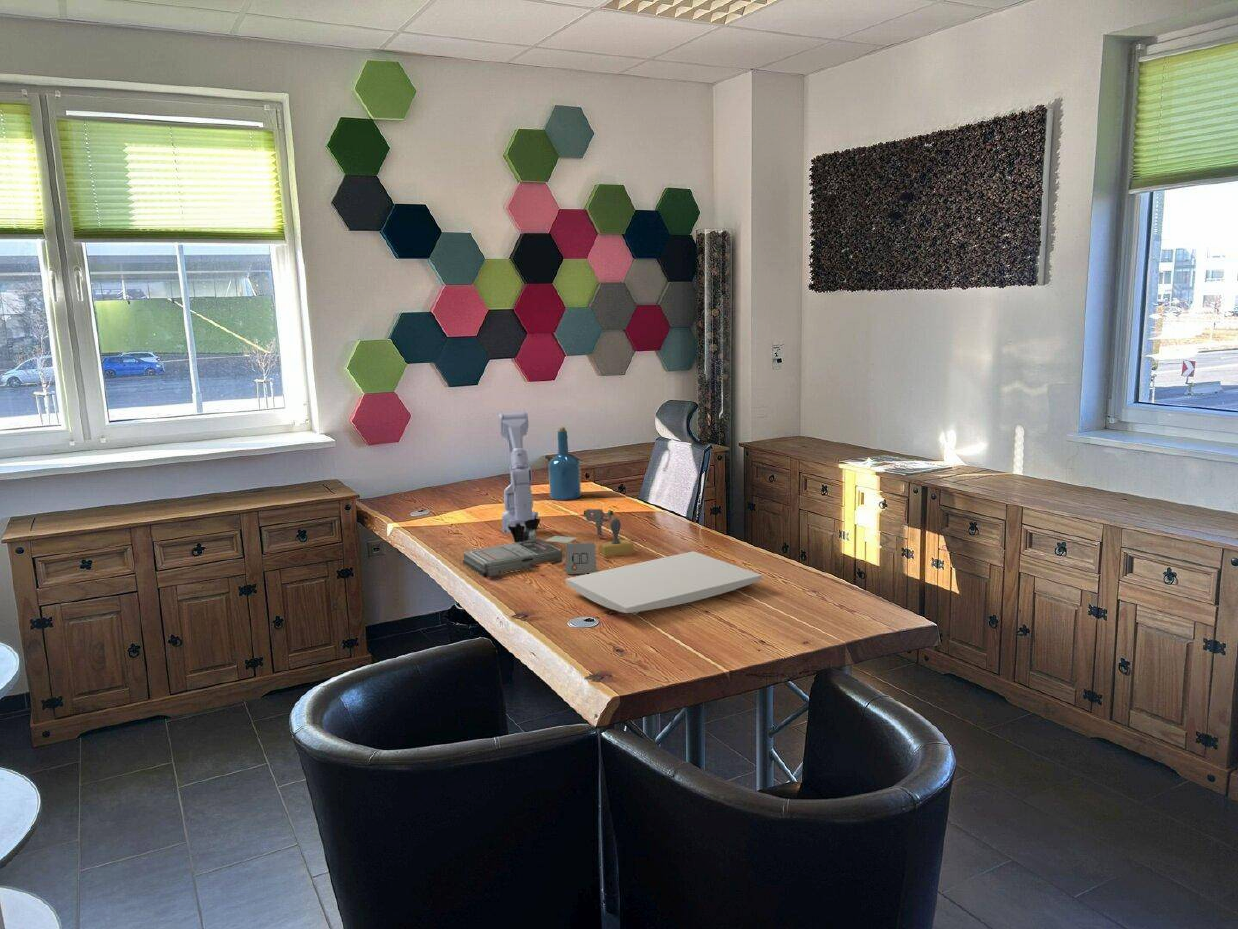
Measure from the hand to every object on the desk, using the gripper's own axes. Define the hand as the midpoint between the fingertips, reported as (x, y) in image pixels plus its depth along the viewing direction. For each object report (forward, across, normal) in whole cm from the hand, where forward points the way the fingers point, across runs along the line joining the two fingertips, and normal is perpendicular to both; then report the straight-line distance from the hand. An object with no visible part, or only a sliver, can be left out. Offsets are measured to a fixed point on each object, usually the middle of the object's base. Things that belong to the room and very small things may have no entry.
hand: (525, 542), depth 312 cm
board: (+3, -26, -63) cm, 68 cm away
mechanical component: (+2, +21, -17) cm, 27 cm away
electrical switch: (+2, -17, -31) cm, 35 cm away
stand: (+2, +10, -8) cm, 13 cm away
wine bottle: (+2, +76, +29) cm, 81 cm away
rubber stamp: (+2, +5, -32) cm, 32 cm away
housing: (+1, 0, 0) cm, 1 cm away
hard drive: (+3, -16, -6) cm, 17 cm away
